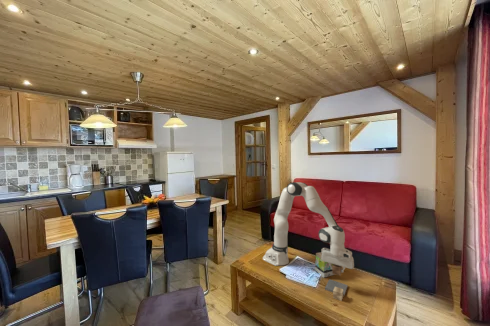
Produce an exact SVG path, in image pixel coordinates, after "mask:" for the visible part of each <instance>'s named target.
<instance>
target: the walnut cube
mask: <svg viewBox="0 0 490 326" xmlns="http://www.w3.org/2000/svg"><path fill="white" fill-rule="evenodd" d="M341 269H343V267H342V266H339V265H335V264H333V266H332V274H336V275H335V276H340V277H341V275H342V274H343V273H342V272H341Z"/></svg>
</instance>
